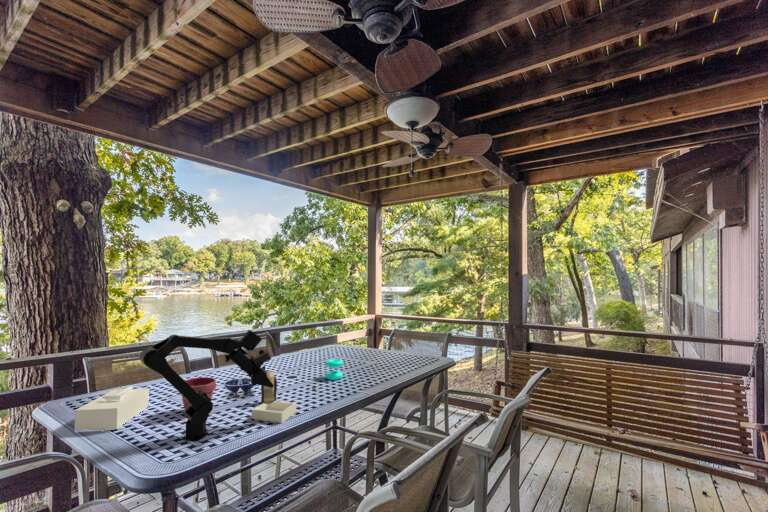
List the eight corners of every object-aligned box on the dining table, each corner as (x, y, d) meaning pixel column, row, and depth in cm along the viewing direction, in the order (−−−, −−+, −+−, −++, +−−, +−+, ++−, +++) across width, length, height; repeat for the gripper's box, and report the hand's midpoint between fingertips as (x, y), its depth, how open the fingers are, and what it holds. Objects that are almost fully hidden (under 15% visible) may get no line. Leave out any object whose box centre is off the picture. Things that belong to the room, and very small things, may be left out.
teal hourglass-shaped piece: (343, 362, 208) (325, 362, 207) (343, 380, 207) (325, 380, 206) (343, 358, 218) (326, 358, 217) (343, 375, 217) (326, 376, 216)
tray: (281, 423, 147) (281, 412, 147) (251, 419, 151) (251, 409, 151) (295, 412, 158) (296, 403, 158) (267, 409, 162) (267, 400, 162)
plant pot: (200, 419, 151) (201, 387, 152) (170, 416, 154) (171, 385, 155) (222, 406, 165) (222, 377, 166) (194, 404, 168) (194, 376, 169)
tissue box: (74, 433, 138) (75, 403, 138) (112, 409, 163) (113, 384, 163) (116, 431, 140) (117, 402, 141) (148, 408, 165) (149, 383, 165)
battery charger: (261, 404, 169) (261, 378, 169) (260, 401, 172) (261, 376, 173) (277, 402, 172) (277, 377, 172) (276, 399, 175) (276, 375, 176)
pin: (270, 404, 148) (270, 373, 148) (261, 403, 148) (261, 373, 149) (275, 400, 152) (275, 371, 152) (266, 400, 152) (267, 370, 153)
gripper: (260, 349, 141) (290, 375, 145) (257, 341, 158) (283, 364, 162) (238, 372, 138) (269, 398, 141) (237, 361, 155) (265, 384, 159)
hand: (272, 385), depth 151 cm, fingers closed on pin, 4 cm apart
